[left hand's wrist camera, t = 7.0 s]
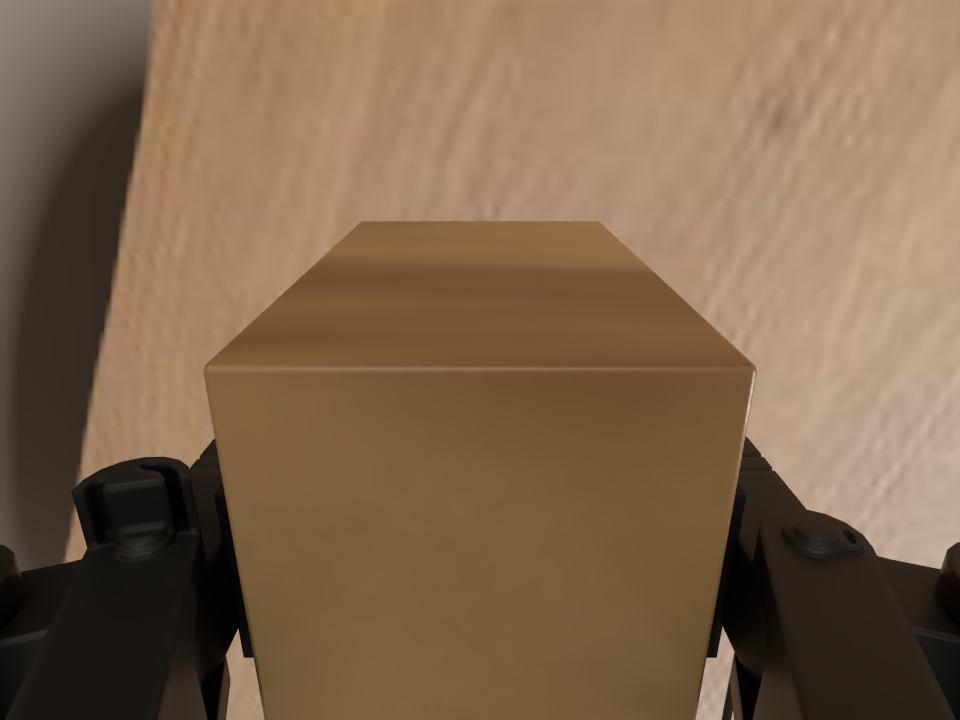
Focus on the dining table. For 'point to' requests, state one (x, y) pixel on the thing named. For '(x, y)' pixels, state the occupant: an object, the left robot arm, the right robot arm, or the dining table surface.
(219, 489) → the left robot arm
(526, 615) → the bar
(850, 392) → the dining table surface
